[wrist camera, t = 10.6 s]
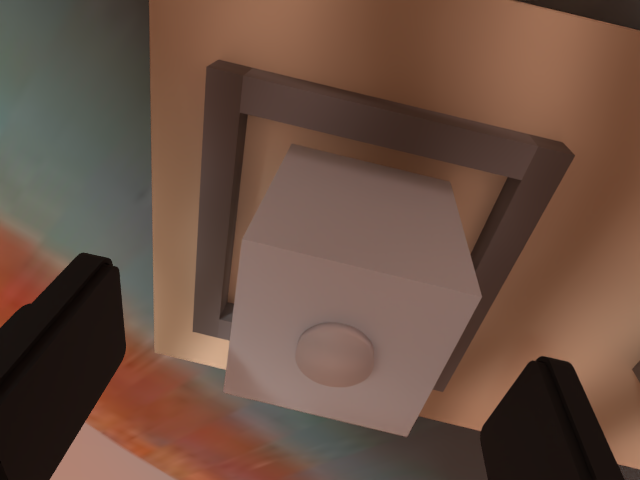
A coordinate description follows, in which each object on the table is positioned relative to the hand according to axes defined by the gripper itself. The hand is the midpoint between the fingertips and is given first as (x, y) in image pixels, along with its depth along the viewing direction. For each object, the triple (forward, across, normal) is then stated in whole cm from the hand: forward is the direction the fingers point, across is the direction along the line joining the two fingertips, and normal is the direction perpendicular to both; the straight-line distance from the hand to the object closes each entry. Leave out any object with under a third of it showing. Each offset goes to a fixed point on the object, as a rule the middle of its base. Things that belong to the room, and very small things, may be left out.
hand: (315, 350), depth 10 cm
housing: (+6, -1, 0) cm, 6 cm away
